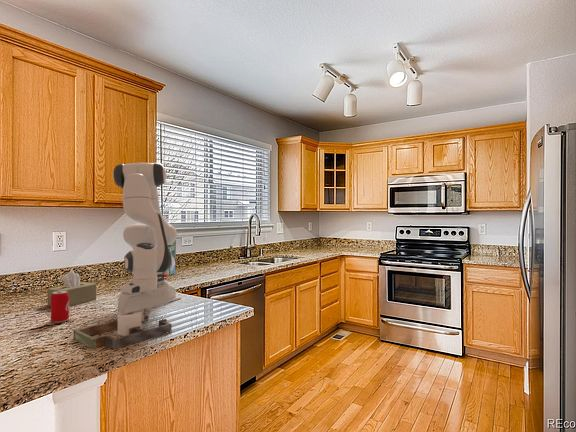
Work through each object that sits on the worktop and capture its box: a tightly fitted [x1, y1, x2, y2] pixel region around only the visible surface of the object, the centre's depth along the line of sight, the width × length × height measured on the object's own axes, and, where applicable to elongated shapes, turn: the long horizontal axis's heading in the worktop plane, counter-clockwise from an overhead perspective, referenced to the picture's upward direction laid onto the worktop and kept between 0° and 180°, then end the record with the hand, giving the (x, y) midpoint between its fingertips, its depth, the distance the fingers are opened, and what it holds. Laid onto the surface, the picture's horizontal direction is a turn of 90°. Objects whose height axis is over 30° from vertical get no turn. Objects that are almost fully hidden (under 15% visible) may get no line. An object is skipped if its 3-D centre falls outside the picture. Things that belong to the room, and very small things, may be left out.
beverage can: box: [50, 291, 70, 324], centre depth 143 cm, size 6×6×12 cm
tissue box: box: [46, 269, 97, 307], centre depth 172 cm, size 19×10×16 cm, turn 157°
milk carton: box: [162, 239, 177, 276], centre depth 251 cm, size 9×9×25 cm
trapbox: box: [73, 312, 173, 350], centre depth 129 cm, size 28×20×3 cm
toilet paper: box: [116, 311, 143, 337], centre depth 133 cm, size 8×11×7 cm
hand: (144, 320), depth 138 cm, fingers closed
